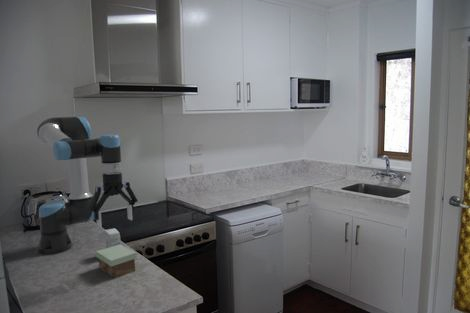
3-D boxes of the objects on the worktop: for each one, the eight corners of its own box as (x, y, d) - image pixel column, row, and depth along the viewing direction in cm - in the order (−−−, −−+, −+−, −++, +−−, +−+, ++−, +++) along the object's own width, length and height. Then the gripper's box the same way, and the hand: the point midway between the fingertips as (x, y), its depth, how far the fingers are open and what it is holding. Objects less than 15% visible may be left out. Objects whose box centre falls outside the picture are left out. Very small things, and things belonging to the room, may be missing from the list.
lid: (96, 259, 152) (95, 251, 151) (120, 251, 159) (120, 244, 159) (111, 268, 142) (111, 260, 141) (136, 260, 149) (136, 252, 149)
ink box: (122, 257, 166) (120, 232, 164) (111, 259, 163) (109, 234, 162) (117, 251, 173) (115, 227, 172) (106, 253, 170) (104, 229, 169)
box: (99, 269, 153) (98, 256, 152) (119, 263, 159) (118, 250, 158) (114, 280, 143) (113, 265, 142) (135, 272, 149) (134, 258, 149)
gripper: (85, 178, 135) (89, 232, 137) (143, 169, 152) (146, 218, 155) (77, 175, 140) (81, 228, 143) (134, 168, 158) (137, 214, 160)
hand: (115, 223), depth 149 cm, fingers open, 13 cm apart
